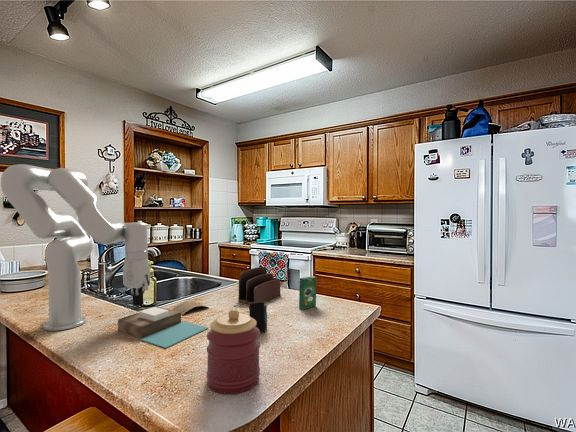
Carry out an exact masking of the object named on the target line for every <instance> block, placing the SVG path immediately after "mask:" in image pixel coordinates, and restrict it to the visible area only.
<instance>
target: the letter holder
mask: <svg viewBox="0 0 576 432" xmlns="http://www.w3.org/2000/svg"><path fill="white" fill-rule="evenodd" d="M279 296H281V279H274V274H273V273H267V267H266V266H259V267H258V266H257V267H253V268H250V269H247V270H244V271H241V272H240V273H239V274H238V299H237V300H238V302H240V303H243V304H248V305H249V303H256V302H264V303H265V302H266V301H269V300H272V299H274V298H277V297H279Z"/></svg>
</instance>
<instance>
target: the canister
mask: <svg viewBox="0 0 576 432" xmlns="http://www.w3.org/2000/svg"><path fill="white" fill-rule="evenodd" d="M256 324H257V322H256V320H255V319H253V318H251V317H250V316H249V315H248V314H247V313H241V312H239V310H238V309H235V308H232V309H230V310H229V312H228V313H226V314H222V315H220V316H218V317H217V318H216V319H214V320H213V321H211V322H210V330H208V332H207V333H206V339H207V340H208V345H207V347H206V352H207V369H206V370H207V371H206V381H207V384H208V387H209V388H210V389H211V390H213V391H214V392H216V393H219V394H225V395H226V394H227V395H234V394H239V393H243V392H246V391H248V390H250V389H252V388H253V387H255V386H256V384H257V383H259V378H260V375H261V374H260V371H261V369H260V368H261V367H260V348H261V343H260V342H259V340H258V339H259V336H260V334H261V333H260V330H259V329H258V328H257V327H256Z"/></svg>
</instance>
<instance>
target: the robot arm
mask: <svg viewBox="0 0 576 432" xmlns="http://www.w3.org/2000/svg"><path fill="white" fill-rule="evenodd" d="M88 186H89V181H88V178H87V177H86V175H85V174H84V173H83V172H82V171H80V170H75V169H70V168H66V167H57V168H49V167H48V168H46V167H41V166H36V165H32V164H24V163H23V164H21V163H20V164H19V163H18V164H13V165H12V164H11V165H10V166H9V167H7V168H6V169H5V170H4V171H3V172H2V174H1V177H0V189H1V192H2V194H3V195H4V196H5V198H6V200H7V201H8V202H9V203H10V204H11V206H12V207H13V208H14V209H15V210H16V212H17V213H18V214H19V216H20V217H21V219H22V220H23V221H24V223H25V224H26V225H27V227H28V228H29V229H30V231H31V232H32V233H33V234H34V235H35V236H36V238H38V239H42V240H51V239H53V240H52V241H50V242H49V243H48V244H47V245H46V248H45V250H44V259H45V263H46V266H47V277H48V278H47V280H48V281H47V282H48V321H46V322H45V323H43V330H45V331H49V332H50V331H52V332H53V331H54V332H55V331H56V332H57V331H64V330H68V329H74V328H77V327H79V326H82V325H83V324H85V323H86V322H87V316H84V315H82V284H81V283H82V279H81V278H82V273H81V269H80V266H79V263H78V262H79V261H81V260H85V259H86V258H88V257H89V256H91V254H92V252H93V242H92V240H91V239H90V238H92V239H93V240H94V241H96V242H97V243H99V244H101V245H110V244H111V245H112V244H115V243H121V242H124V258H125V259H124V261H123V269H122V285H124V287H127V289H130V291H131V293H130V294H131V295H132V306H133V307H138V306H142V305H144V294H145V291H148V290H149V286H150V285H151V270H150V262H149V250H148V249H149V248H148V245H149V244H148V225H147V223H145V222H143V221H141V222H139V221H137V222H120V221H117V222H115V221H112V222H109V221H107V219H106V218H105V217H104V216H103V215H102V214H101V213H100V211H99V210H98V208H97V203H98V196H97V195H96V194H95V193H94V192H93V191H92V190H91V189H90V188H89V187H88ZM35 190H37V191H38V190H39V191H51V192H55V193H57V194H58V195H59V197H61V199H63V200H64V201H65V202H66V203H67V204H68V205H69V207H70V208H71V209H73V210H74V211H75V215H76V218H74V217H73V216H72V215H70V214H69V213H65V212H55V211H53V209H52V208H51V207H50V206H49V205H48V204H47V202H46V201H45V199H44V198H43V197H42V196H40V195H39V194H38V193H37V192H36V191H35ZM76 219H77V220H78V221H77V220H76ZM87 234H88V235H89V236H90V237H89V236H88V235H87Z"/></svg>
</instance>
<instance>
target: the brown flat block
mask: <svg viewBox="0 0 576 432" xmlns="http://www.w3.org/2000/svg"><path fill="white" fill-rule="evenodd" d="M155 307H156V308H161V309H165V310H169V316H168V317H165V318H163V319H160V320H157V321H151V320H147V319H144V318H140V317H139V312H136V313H133V314H130V315H127V316H125V317H121V318H118V319H117V331H118V332H121V333H122V334H123V333H124V334H127V335H129V336H133V337H136V338H138V339H142V338H144V337H147V336H149V335H152V334H154V333H157V332H159V331H161V330H164V329H166V328H169V327H171V326H174V325H176V324H179V323H181V322H182V315H181V312H178V311H174V310H172V309H169V308H164V307H161V306H155Z"/></svg>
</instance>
